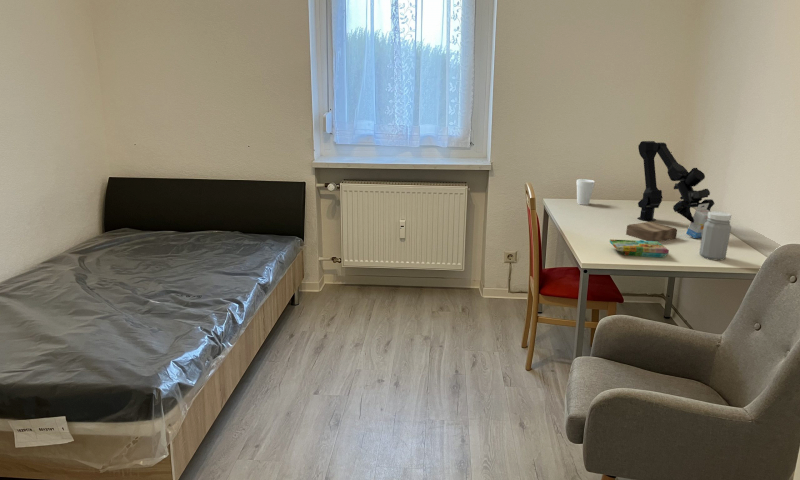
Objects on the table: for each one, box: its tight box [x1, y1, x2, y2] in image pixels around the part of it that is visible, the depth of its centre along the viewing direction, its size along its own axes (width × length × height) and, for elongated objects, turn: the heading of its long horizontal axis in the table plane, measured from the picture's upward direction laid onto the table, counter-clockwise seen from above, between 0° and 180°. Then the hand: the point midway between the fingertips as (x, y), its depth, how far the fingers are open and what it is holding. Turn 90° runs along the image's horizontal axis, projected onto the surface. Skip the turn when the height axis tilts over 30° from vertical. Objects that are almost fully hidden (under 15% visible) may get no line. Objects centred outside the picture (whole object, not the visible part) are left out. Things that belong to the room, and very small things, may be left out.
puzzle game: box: [609, 239, 670, 258], centre depth 247 cm, size 12×5×20 cm
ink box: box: [685, 203, 711, 239], centre depth 272 cm, size 8×5×15 cm, turn 122°
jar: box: [699, 210, 732, 261], centre depth 243 cm, size 10×10×18 cm
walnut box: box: [625, 221, 678, 242], centre depth 273 cm, size 16×14×5 cm
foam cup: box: [575, 178, 596, 206], centre depth 335 cm, size 10×9×13 cm
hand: (701, 221), depth 272 cm, fingers closed on ink box, 9 cm apart
